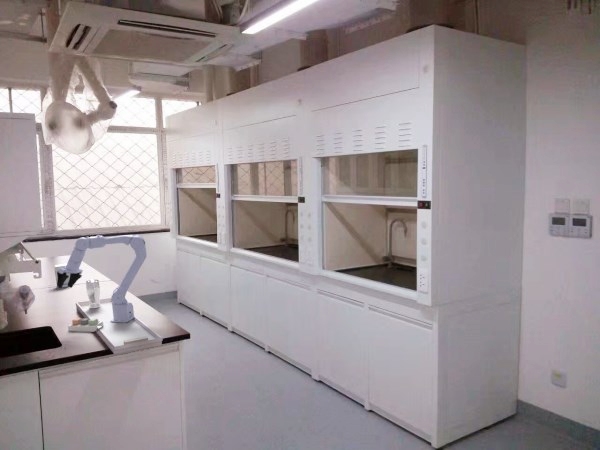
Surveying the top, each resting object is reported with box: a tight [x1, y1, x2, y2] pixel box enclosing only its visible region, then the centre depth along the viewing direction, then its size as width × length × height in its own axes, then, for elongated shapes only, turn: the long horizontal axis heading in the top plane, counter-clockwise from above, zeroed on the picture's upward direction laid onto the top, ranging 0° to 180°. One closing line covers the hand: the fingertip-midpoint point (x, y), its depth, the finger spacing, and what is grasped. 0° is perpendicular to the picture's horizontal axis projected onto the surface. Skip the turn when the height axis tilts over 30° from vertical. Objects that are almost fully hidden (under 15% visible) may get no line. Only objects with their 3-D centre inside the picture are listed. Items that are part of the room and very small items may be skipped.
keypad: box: [67, 321, 104, 333], centre depth 229 cm, size 14×7×3 cm, turn 77°
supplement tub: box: [53, 263, 70, 289], centre depth 323 cm, size 10×10×15 cm
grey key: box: [80, 317, 91, 325], centre depth 229 cm, size 3×3×2 cm
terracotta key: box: [71, 317, 83, 325], centre depth 230 cm, size 3×3×2 cm
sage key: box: [88, 318, 99, 325], centre depth 228 cm, size 3×3×2 cm
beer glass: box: [85, 279, 102, 309], centre depth 266 cm, size 7×7×15 cm
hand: (64, 287), depth 231 cm, fingers open, 7 cm apart
